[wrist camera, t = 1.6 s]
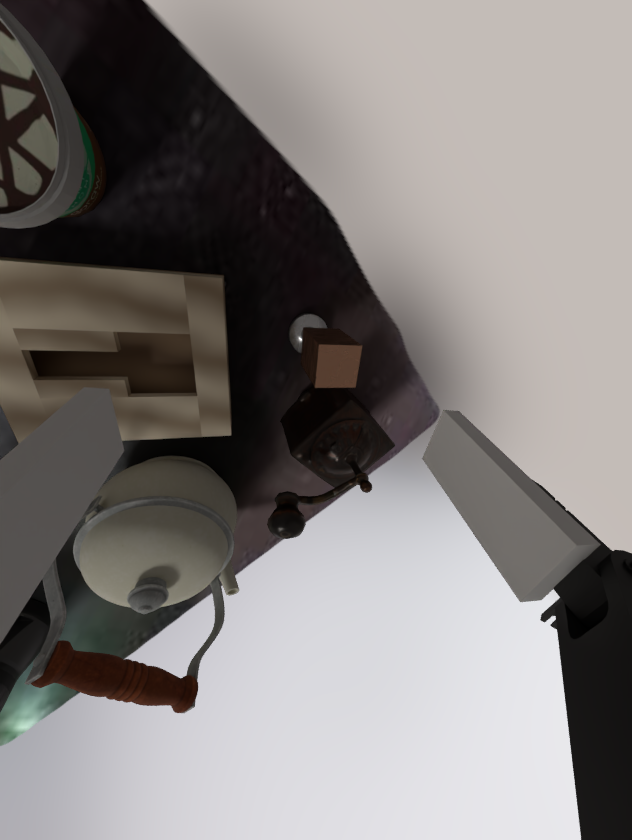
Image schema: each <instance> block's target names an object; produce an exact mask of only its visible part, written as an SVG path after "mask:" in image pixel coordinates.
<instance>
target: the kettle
mask: <svg viewBox="0 0 632 840" xmlns="http://www.w3.org/2000/svg"><path fill="white" fill-rule="evenodd" d="M84 517H86V521H85V524H84V525H83V526H82V527H81V529H80V530H79V532H78V534H77V536H76V538H75V541H74V546H73V554H74V559H75V562H76V564H77V566H78V568H79V569H80V571H81V573H82V576H83V578H84V580H85V582H86V583H87V585H88V586H89V587H90V588H91V589H92V590H93V591H94V592H95V593H96V594H97V595H99V596H100V597H102V598H104V599H105V600H107V601H110V602H112V603H115V604H118V605H121V606H126V607H131V608H132V609H133V610H135V611H137V612H139V613H142V614H146V613H149V612H152V611H155V610H156V609H158V608H159V607H163V606H168V605H172V604H175V603H178V602H181V601H184V600H186V599H188V598H190V597H192V596H194V595H196V594H197V593H199V592H200V591H202V590H203V589H204V588H206V587H207V586H208V585H209V584H211V589H212V594H213V599H214V606H215V623H214V627H213V630H212V632H211V634H210V636H209V637H208V639H207V640H206V642H205V643H204V645H203V646H202V647H201V648H200V650H199V651H198V653H197V654H196V655H195V656H194V658H193V659H192V661H191V663H190V665H189V667H188V671H187V676H185V677H183V678H178V677H177V676H175V675H173V674H171V673H169V672H167V671H165V670H163V669H160V668H158V667H154V666H146V665H145V664H143V663H138V662H137V661H131V660H129V659H125V660H123V659H122V658H120V657H117V656H114V655H110V654H103V653H93V652H81V651H75V650H73V648H72V646H71V644H70V642H68V641H58V640H59V638H60V635H61V633H62V630H63V628H64V625H65V621H66V606H65V601H64V597H63V593H62V589H61V585H60V581H59V576H58V571H57V565H56V558H55V560H54V561H53V563H52V564H51V566H50V568H49V569H48V571H47V572H46V574H45V575H44V577H43V578H42V579H43V585H44V590H45V595H46V599H47V603H48V607H49V612H50V618H51V624H50V630H49V633H48V635H47V638H46V640H45V643H44V645H43V647H42V649H41V651H40V653H39V655H38V656H37V657H36V658H35V660H34V662H33V665H34V666H33V668H32V670H31V672H30V674H29V676H28V678H27V680H26V682H25V684H28V685H29V684H32V685H33V686H35V687H39V688H42V687H44V686H47V685H49V684H52V683H59V684H62V685H64V686H66V687H69V688H71V689H74V690H76V691H79V692H81V693H84V694H87V695H91V696H96V697H107V698H108V699H115V700H117V701H124V702H133V703H136V704H139V705H147V706H149V705H150V706H153V705H154V706H157V705H171V706H172V708H173V710H174V712H176V713H185V712H187V711H189V710H190V709H192V708H194V707H195V699H196V696H197V692H198V682H197V678H198V670H199V664H200V660H201V658H202V656H203V655H204V653H205V652H206V651H207V649H208V648H209V647H210V645H211V644H212V642H213V641H214V640H215V638H216V636H217V635H218V634H219V632H220V630H221V628H222V625H223V622H224V601H223V595H222V589H221V585H220V581H221V583H222V585H223V587H224V590H225V592H226V594H227V595H234V594H236V593H238V591H239V588H238V585H237V581H236V578H235V575H234V571H233V567H232V564H231V560H230V559H231V557H232V554H233V551H234V536H233V533H234V530H235V527H236V521H237V507H236V502H235V498H234V496H233V493H232V491H231V490H230V488H229V487H228V485H227V484H226V483H225V481H224V480H223V479H222V478H221V477H219V476H218V475H217V474H216V472H215V471H214V470H213V469H211V468H210V467H209V466H208V465H206V464H204V463H202V462H200V461H198V460H196V459H193V458H189V457H184V456H161V457H156V458H152V459H149V460H147V461H144V462H142V463H140V464H137V465H134V466H131V467H129V468H127V469H125V470H123V471H121V472H120V473H118V474H117V475H115V476H114V477H112V478H111V479H110V480H109V481H108V482H106V483H105V484H104V485H103V487H102V488H101V489H100V490H99V491H98V493H97V494H96V496H95V497H94V499H93V501H92V502H91V504H90V505H89V507H88V508H87V510H86V511H85V513H84V514H83V516H82V518H81V519H83V518H84ZM81 519H80V520H81ZM219 579H220V580H219Z"/></svg>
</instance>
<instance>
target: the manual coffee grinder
mask: <svg viewBox="0 0 632 840" xmlns="http://www.w3.org/2000/svg"><path fill="white" fill-rule="evenodd" d="M280 422H281V423H282V425H283V428H284V431H285V435H286V439H287V442H288V446H289V449H290V454H291V455H292V456H293V457H294V458H295V459H297V460H298V461H299V462H300V463H302V464H303V465H304V466H306V467H307V468H308V469H310V470H311V471H312V472H313V473H315V474H316V475H317V476H319V477H320V478H321V479H323V480H324V481H326V482H327V483H329V484H330V485H332V486H333V487H335V488H334V489H332V490H330V491H328V492H326V493H325V494H322V495H319V496H311V497H308V496H298V495H297V494H296V493H292V492H288V491H287V492H282V493H279V494H278V495H277V497H276V498H275V502H276V504H277V508H276V509H275V510H274V512H273V513H272V515H271V516H270V518H269V519H268V524H267V525H268V528H269V530H270V532H271V533H272V534H273V535H274V536H276V537H279V538H282V539H288V538H294V537H297V536H299V535H300V534H301V533H302V531H303V529H304V527H305V525H306V524H305V519H304V515H303V514H302V513H301V512H300V511H299V510H298V508H297V507H298V504H301V505H316V504H321V503H324V502H327V501H329V500H331V499H333V498H335V497H337V496H338V495H340V494H342V493H344V492H345V491H347V490H349V489H351V488H352V487H354V486H356V485H360V488H361V490H362V491H363V492H366V493H368V492H370V491H371V490H372V484H371V483H370V482H369V481H368V475H367V474H366V473H363V472H364V471H366V470H367V469H368V468H369V467H370V466H372V465H373V464H374V463H375V462H376V461H378V460H379V459H380V458H381V457H382V456H384V455H385V454H386V453H387V452H388V451H390V450H391V449H392V448H393V447H394V446H395V444H394V443H393V442H392V440H391V439H390V438H389V437H388V435H387V434H386V433H385V431H384V430H383V429H382V428H381V427H380V425H379V424H378V423H377V422H376V421H375V419H374V418H373V417H372V416H371V414H370V413H369V411H368V410H367V409H366V407H365V406H364V405H363V404H362V403H361V402H360V401H359V400H358V399H357V398H356V397H355V396H354V395H353V394H352V393H351V392H350V391H349V390H348V389H347V388H315V387H314V385H313V386H312V387H311V388H310V389H308V390H306V391H305V392H304V393H303V394H302V395H301V396H300V397H299V398H298V401H297V402H296V403H295V404H294V405H293V406H292V407H291V408H290V409H289V410H288V411H287V412H286V414H285V415H284V416H283V418H282V419H281V421H280Z"/></svg>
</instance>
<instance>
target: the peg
mask: <svg viewBox="0 0 632 840" xmlns="http://www.w3.org/2000/svg"><path fill="white" fill-rule="evenodd" d="M288 337H289V340H290V342H291V344H292V346H293V347H294V348H295V349H296V350H297V351H298V352H300V353H301V365H302V367H303V368H304V370H305V372H306V374H307V375H308V377H309V379H310V380H311V382H312V384H313V385H314V387H315V388H353V387H356V382H357V376H358V370H359V364H360V357H361V351H362V345H361V344H359V343H358V342H357V341H355V340H354V339H352V338H351V337H350V336H348V335H347V334H345V333H344V332H343V331H341V330H340V329H331V328H327V325H326V324H325V322H324V321H323V320H322V319H321V318H320V317H319V316H317V315H315V314H312V313H303V314H300V315H298V316H297V317H295V318H294V319H293V321H292V322H291V324H290V326H289V329H288Z"/></svg>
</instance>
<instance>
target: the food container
mask: <svg viewBox="0 0 632 840" xmlns="http://www.w3.org/2000/svg"><path fill="white" fill-rule="evenodd" d="M106 176H107V175H106V166H105V161H104V157H103V154H102V151H101V148H100V146H99V143H98V141H97V139H96V137H95V135H94V133H93V132H92V130H91V129H90V127H89V125H88V124H87V122H86V121H85V120H84V118H83V117H82V116H81V115H80V113H79V112H78V111H77V110H76V108H75V107H74V106H73V105H72V103H71V100H70V97H69V95H68V93H67V91H66V89H65V87H64V85H63V83H62V81H61V79H60V77H59V75H58V74H57V72H56V71H55V69H54V67H53V66H52V64H51V63H50V61H49V59H48V58H47V56H46V55H45V53H44V52H43V51H42V49H41V48H40V47H39V45H38V44H37V43H36V42H35V40H34V39H33V38H32V36H31V35H30V34H29V32H28V31H27V30H26V29H25V28H24V27H23V26H22V25H21V24H20V23H19V22H18V20H17V19H16V18H15V17H14V16H13V15H12V14H11V13H10V12H9V11H8V10H7V9H6V8H5V7H4V6H3V5H1V4H0V227H3V228H17V229H20V228H31V227H36V226H40V225H43V224H46V223H49V222H50V221H52V220H54V219H56V218H64V217H79V216H81V215H84V214H86V213H88V212H90V211H92V210H93V209H94V208H95V207H96V206H97V205H98V203H99V202H100V201H101V199H102V197H103V195H104V192H105V187H106Z"/></svg>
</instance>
